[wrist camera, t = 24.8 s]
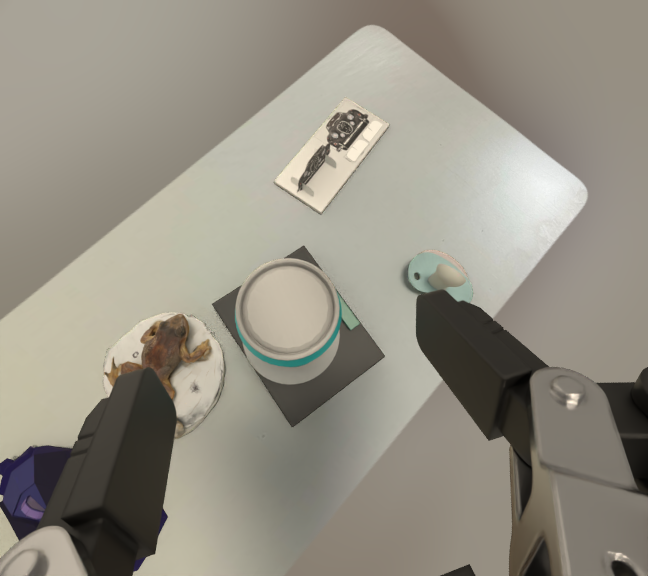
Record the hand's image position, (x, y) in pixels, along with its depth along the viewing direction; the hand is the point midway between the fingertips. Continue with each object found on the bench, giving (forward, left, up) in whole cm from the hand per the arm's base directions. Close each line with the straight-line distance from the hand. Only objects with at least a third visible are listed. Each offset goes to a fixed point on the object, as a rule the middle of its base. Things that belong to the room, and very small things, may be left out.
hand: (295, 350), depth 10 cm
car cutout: (+18, -17, -24) cm, 35 cm away
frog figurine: (+7, +11, -24) cm, 27 cm away
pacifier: (-1, -18, -24) cm, 30 cm away
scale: (+3, -2, -24) cm, 24 cm away
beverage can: (+2, -1, -21) cm, 21 cm away
